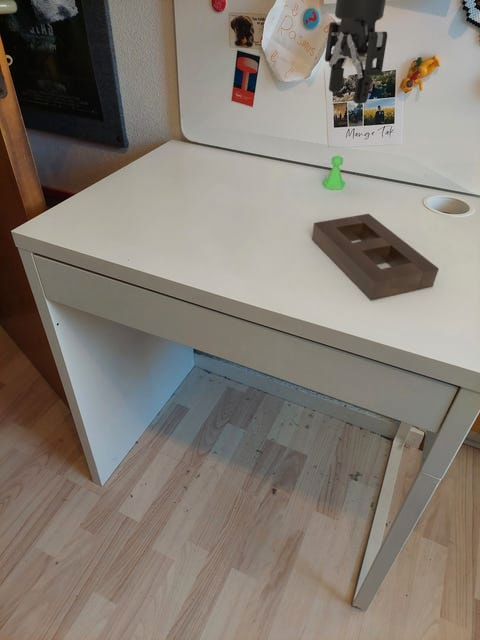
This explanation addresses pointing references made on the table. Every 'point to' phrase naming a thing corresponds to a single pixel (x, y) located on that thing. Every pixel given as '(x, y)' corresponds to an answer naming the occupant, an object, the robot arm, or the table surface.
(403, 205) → the table surface
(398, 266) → the socket pad
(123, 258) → the table surface
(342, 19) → the robot arm
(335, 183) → the game piece
